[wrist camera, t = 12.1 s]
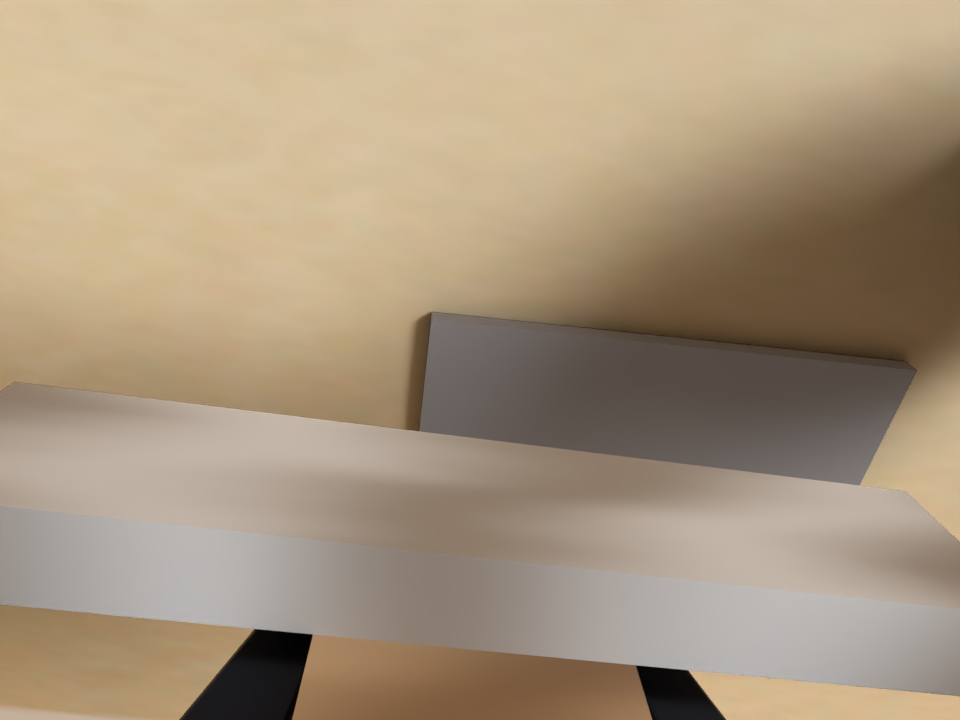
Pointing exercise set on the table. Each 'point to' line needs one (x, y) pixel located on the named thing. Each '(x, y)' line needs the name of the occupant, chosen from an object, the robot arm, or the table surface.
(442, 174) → the table surface
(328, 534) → the wood and metal bracket
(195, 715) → the robot arm
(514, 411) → the rubber mat
